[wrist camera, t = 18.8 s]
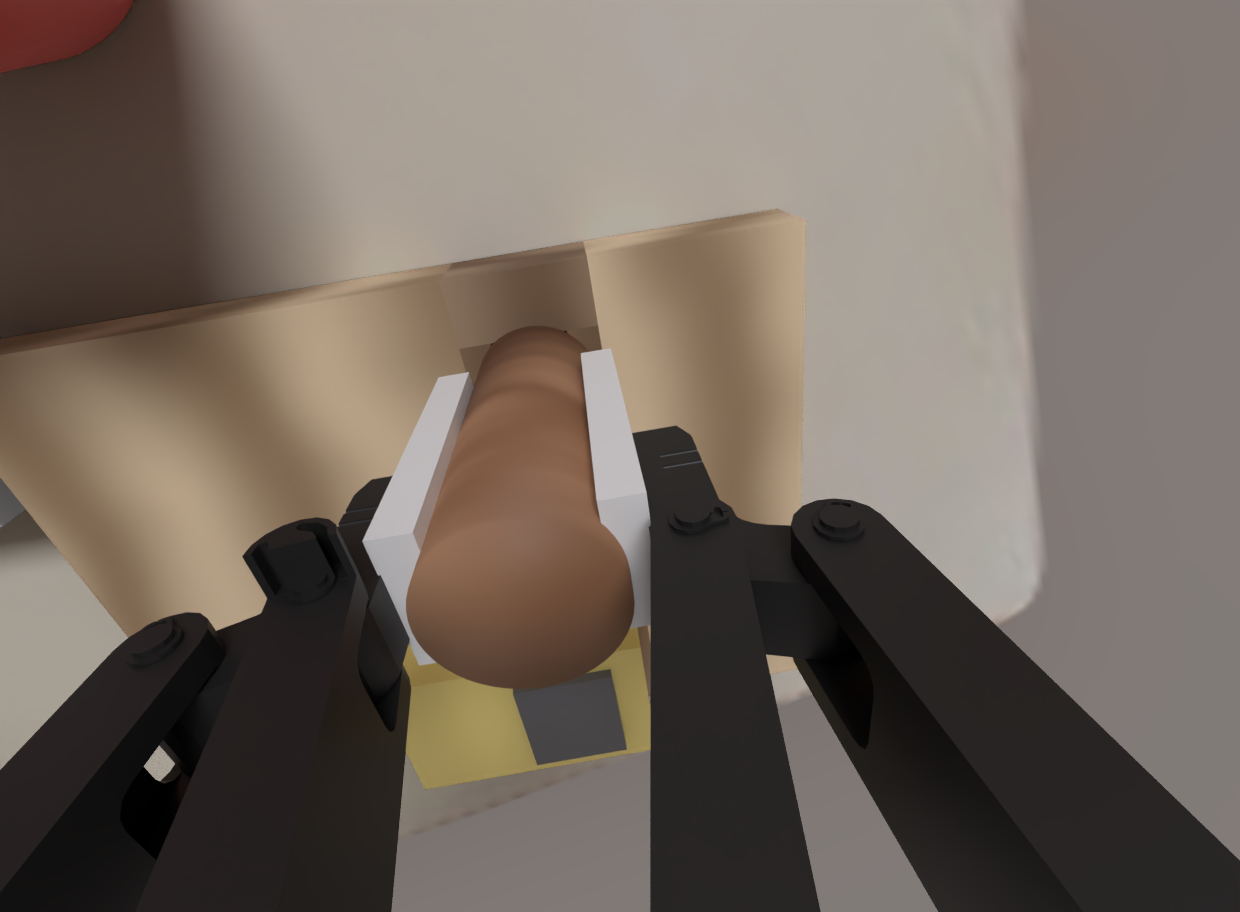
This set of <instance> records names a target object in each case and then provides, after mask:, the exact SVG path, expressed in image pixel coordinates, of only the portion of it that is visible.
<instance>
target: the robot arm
mask: <svg viewBox="0 0 1240 912" xmlns="http://www.w3.org/2000/svg"><path fill="white" fill-rule="evenodd" d="M581 362H582V371H583V380H584V389H585V399H586V408H587V417H588V426H589V435H590V445H591V454H592V463H593V472H594V482H595V491H596V500H597V506H598V511H599V516H600V521H601V523H602V524H603V525H604V526H605V527H607V529H608V530H609V531H610V532H611V533H612V534H613V535H614V536H615V537H616V539H617V540H618V542H619V543H620V545H621V546H622V548H623V550H624V552H625V555H626V557H627V560H628V564H629V567H630V573H631V580H632V586H633V592H634V602H635V605H634V615H633V620H632V624H631V626H630V629H631V628H636V627H642V626H648V625H651V901H650V902H651V906H650V907H651V909H650V910H651V911H650V912H820V907H819V903H818V898H817V893H816V888H815V884H814V879H813V874H812V870H811V865H810V860H809V855H808V850H807V846H806V841H805V836H804V832H803V827H802V822H801V817H800V813H799V808H798V803H797V799H796V794H795V789H794V784H793V780H792V775H791V770H790V766H789V761H788V756H787V752H786V747H785V742H784V737H783V733H782V728H781V723H780V719H779V714H778V709H777V704H776V700H775V695H774V690H773V685H772V681H771V676H770V671H769V667H768V662H767V657H766V655H775V656H785V657H793V661H794V663H795V665H796V666H797V668H798V670H799V672H800V673H801V675H802V677H803V679H804V680H805V682H806V684H807V685H808V687H809V689H810V691H811V692H812V694H813V696H814V698H815V699H816V701H817V703H818V704H819V706H820V708H821V710H822V711H823V713H824V715H825V716H826V718H827V720H828V722H829V723H830V725H831V727H832V729H833V730H834V732H835V734H836V735H837V737H838V739H839V741H840V742H841V744H842V746H843V748H844V749H845V751H846V753H847V755H848V756H849V758H850V760H851V762H852V763H853V765H854V767H855V768H856V770H857V772H858V774H859V775H860V777H861V779H862V780H863V782H864V784H865V786H866V787H867V789H868V791H869V793H870V794H871V796H872V798H873V799H874V801H875V803H876V805H877V806H878V808H879V810H880V811H881V813H882V815H883V817H884V818H885V820H886V822H887V824H888V825H889V827H890V829H891V830H892V832H893V834H894V836H895V838H896V839H897V841H898V843H899V844H900V846H901V848H902V850H903V851H904V853H905V855H906V857H907V858H908V860H909V862H910V863H911V865H912V867H913V868H914V870H915V872H916V873H917V876H918V877H919V879H920V881H921V882H922V884H923V886H924V888H925V889H926V891H927V893H928V895H929V896H930V898H931V900H932V901H933V903H934V905H935V907H936V908H937V910H938V912H1240V860H1239V859H1238V858H1236V857H1235V856H1234V855H1233V854H1232V853H1231V852H1230V851H1229V850H1228V849H1227V848H1226V847H1225V846H1224V845H1223V844H1222V843H1221V842H1220V841H1219V840H1218V839H1217V838H1216V837H1215V836H1214V835H1213V834H1212V833H1211V832H1210V831H1209V830H1207V829H1206V828H1205V827H1204V826H1203V825H1202V824H1201V823H1200V822H1199V821H1198V820H1197V819H1196V818H1195V817H1194V816H1193V815H1192V814H1191V813H1190V812H1189V811H1188V810H1187V809H1186V808H1185V807H1184V806H1183V805H1181V804H1180V802H1178V801H1177V800H1176V799H1175V798H1174V797H1173V796H1172V795H1171V794H1170V793H1169V792H1168V791H1167V790H1166V789H1165V788H1164V787H1163V786H1162V785H1161V784H1160V783H1159V782H1157V780H1156V779H1154V777H1153V776H1152V775H1151V774H1149V773H1148V772H1147V771H1146V770H1145V769H1144V768H1143V767H1142V766H1141V765H1140V764H1139V763H1138V762H1137V761H1136V760H1135V759H1134V758H1133V757H1132V756H1131V755H1130V754H1129V753H1128V752H1127V751H1126V750H1125V749H1123V747H1121V746H1120V745H1119V744H1118V743H1117V742H1116V741H1115V740H1114V739H1113V738H1112V737H1111V736H1110V735H1109V734H1108V733H1107V732H1106V731H1105V730H1104V729H1103V728H1102V727H1100V725H1099V724H1098V723H1097V722H1096V721H1095V720H1094V719H1093V718H1091V717H1090V716H1089V715H1088V714H1087V713H1086V712H1085V711H1084V710H1083V709H1082V708H1081V707H1080V706H1079V705H1078V704H1077V703H1076V702H1075V701H1074V700H1073V699H1072V698H1071V697H1070V696H1069V695H1067V694H1066V692H1065V691H1063V690H1062V689H1061V688H1060V687H1059V686H1058V685H1057V684H1056V683H1055V682H1054V681H1053V680H1052V679H1051V678H1050V677H1049V676H1048V675H1047V674H1046V673H1045V672H1044V671H1043V670H1042V669H1041V668H1040V667H1039V666H1038V665H1036V664H1035V663H1034V662H1033V661H1032V660H1031V659H1030V658H1029V657H1028V656H1027V655H1026V654H1025V653H1024V652H1023V651H1022V650H1021V649H1020V648H1019V647H1018V646H1017V645H1016V644H1015V643H1014V642H1013V641H1012V640H1011V639H1010V638H1009V637H1008V636H1006V635H1005V634H1004V633H1003V632H1002V631H1001V630H1000V629H999V628H998V627H997V626H996V625H995V624H994V623H993V622H992V621H991V620H990V619H989V618H988V617H987V616H986V615H985V614H984V613H983V612H982V611H981V610H980V609H979V608H978V607H977V606H975V605H974V604H973V603H972V602H971V601H970V600H969V599H968V598H967V597H966V596H965V595H964V594H963V593H962V592H961V591H960V590H959V589H958V588H957V587H956V586H955V585H954V584H953V583H952V582H951V581H950V580H949V579H948V578H946V577H945V576H944V575H943V574H942V573H941V572H940V571H939V570H938V569H937V568H936V567H935V566H934V565H933V564H932V563H931V562H930V561H929V560H928V559H927V558H926V557H925V556H924V555H923V554H922V553H921V552H920V551H919V550H918V549H916V548H915V547H914V546H913V545H912V544H911V543H910V542H909V541H908V540H907V539H906V538H905V537H904V536H903V535H902V534H901V533H900V532H899V531H898V530H897V529H896V528H895V527H894V526H893V525H892V524H891V523H890V522H889V521H887V520H886V519H885V518H884V517H883V516H882V515H881V514H880V513H878V512H877V511H875V510H874V509H872V508H871V507H869V506H867V505H864V504H861V503H858V502H855V501H852V500H843V499H826V500H817V501H814V502H812V503H809V504H806V505H804V506H802V507H801V508H800V509H799V510H798V511H797V512H796V513H795V514H794V515H793V518H792V522H791V526H790V525H767V524H758V523H753V522H749V521H745V520H742V519H740V518H738V517H737V516H736V514H735V513H734V511H733V509H732V507H730V506H729V505H727V504H726V503H724V502H723V501H721V500H719V498H718V495H717V493H716V491H715V488H714V486H713V484H712V482H711V479H710V477H709V475H708V472H707V470H706V468H705V466H704V463H703V462H702V459H701V456H700V454H699V452H698V451H697V447H696V445H695V443H694V440H693V438H692V436H691V435H690V434H689V433H687V432H686V431H684V430H683V429H681V428H679V427H678V426H670V427H664V428H659V429H653V430H647V431H641V432H635V433H632V432H631V428H630V424H629V420H628V416H627V411H626V407H625V403H624V399H623V395H622V391H621V387H620V383H619V379H618V375H617V371H616V367H615V363H614V359H613V355H612V351H611V348H609V349H603V350H597V351H591V352H585V353H581ZM473 388H474V387H473V384H472V381H471V377H470V374H469V372H467V373H461V374H455V375H449V376H443V377H439V378H438V380H437V382H436V384H435V386H434V388H433V390H432V393H431V395H430V397H429V399H428V401H427V403H426V405H425V408H424V410H423V412H422V414H421V416H420V418H419V420H418V423H417V425H416V427H415V429H414V431H413V433H412V436H411V438H410V440H409V442H408V444H407V446H406V448H405V451H404V453H403V455H402V457H401V459H400V461H399V463H398V466H397V468H396V470H395V472H394V474H393V476H389V477H383V478H377V479H372V480H370V481H369V482H368V483H367V484H366V485H365V486H364V487H362V488H361V489H360V490H359V491H358V492H357V493H356V494H355V495H354V496H353V498H352V500H351V502H350V503H349V505H348V507H347V509H346V514H343V516H342V518H341V520H340V522H339V527H337V526H336V524H335V523H333V522H332V521H331V520H330V519H325V518H318V517H315V518H308V519H301V520H298V521H295V522H292V523H289V524H286V525H283V526H281V527H279V528H277V529H275V530H273V531H271V532H269V533H267V534H265V535H264V536H263V537H261V538H260V539H259V540H257V541H256V542H255V543H253V544H252V545H251V546H250V547H249V548H248V550H247V551H246V552H245V553H244V555H243V556H242V557H243V559H244V561H245V562H246V564H247V566H248V567H249V569H250V571H251V572H252V574H253V576H254V577H255V579H256V581H257V582H258V584H259V586H260V587H261V589H262V591H263V592H264V594H265V596H266V597H267V600H266V603H265V605H264V608H263V610H262V612H261V614H259V615H256V616H254V617H251V618H249V619H246V620H243V621H241V622H238V623H235V624H233V625H230V626H228V627H225V628H222V629H220V630H217V631H216V630H215V628H214V627H213V626H212V624H211V623H210V621H209V620H208V618H206V617H205V616H204V615H202V614H201V613H193V612H185V613H181V614H176V615H172V616H168V617H165V618H162V619H159V620H158V621H157V622H156V621H155V622H152V623H150V624H148V625H146V626H145V627H144V628H142V629H141V630H140V631H138V632H137V633H135V634H133V635H132V636H130V637H129V638H128V639H126V640H125V641H124V642H123V643H122V644H121V645H120V646H118V647H117V648H116V649H115V650H114V651H113V652H112V653H111V654H110V655H109V656H108V657H107V658H106V659H105V660H104V661H103V662H102V663H101V664H100V665H99V667H98V668H97V669H96V670H95V671H94V672H93V673H92V674H91V675H90V676H89V677H88V678H87V679H86V680H85V681H84V682H83V683H82V684H81V686H80V687H79V688H78V689H77V690H76V691H75V692H74V693H73V694H72V695H71V696H70V697H69V698H68V699H67V700H66V701H65V702H64V703H63V704H62V706H61V707H60V708H59V709H58V710H57V711H56V712H55V713H54V714H53V715H52V716H51V717H50V718H49V719H48V720H47V721H46V722H45V723H44V725H43V726H42V727H41V728H40V729H39V730H38V731H37V732H36V733H35V734H34V735H33V736H32V737H31V738H30V739H29V740H28V741H27V742H26V744H25V745H24V746H23V747H22V748H21V749H20V750H19V751H18V752H17V753H16V754H15V755H14V756H13V757H12V758H11V759H10V760H9V761H8V763H7V764H6V765H5V766H4V767H3V768H2V769H1V770H0V912H391V908H392V897H393V886H394V875H395V864H396V852H397V842H398V831H399V819H400V808H401V797H402V786H403V775H404V764H405V753H406V741H407V730H408V719H409V708H410V697H411V684H410V678H409V676H408V674H407V672H406V670H405V668H404V666H403V662H404V658H405V655H406V651H407V648H408V644H409V645H410V647H411V649H412V651H413V653H414V655H415V658H416V660H417V662H418V664H419V666H420V665H426V664H432V663H437V662H435V661H434V660H433V659H432V658H431V657H430V656H429V655H428V654H427V653H426V652H425V651H424V650H423V649H422V647H421V646H420V645H419V644H418V642H417V640H416V639H415V637H414V635H413V633H412V631H411V629H410V626H409V623H408V619H407V614H406V597H407V591H408V587H409V584H410V581H411V578H412V575H413V572H414V568H415V565H416V562H417V560H418V557H419V554H420V552H421V549H422V545H423V542H424V539H425V536H426V533H427V530H428V527H429V524H430V521H431V518H432V514H433V511H434V508H435V505H436V502H437V499H438V496H439V493H440V490H441V487H442V484H443V480H444V477H445V474H446V471H447V468H448V465H449V462H450V459H451V456H452V453H453V450H454V446H455V443H456V440H457V437H458V434H459V431H460V428H461V425H462V422H463V419H464V416H465V412H466V409H467V406H468V403H469V400H470V397H471V394H472V391H473ZM158 746H160V747H161V748H162V749H163V750H164V751H165V752H166V754H167V755H168V756H169V757H170V758H171V759H172V760H173V762H174V763H175V765H174V767H173V768H172V769H171V771H170V772H169V773H168V774H167V775H166V776H165V777H164V778H163V779H162V780H161V781H157V780H155V779H154V778H153V777H152V775H151V774H150V773H149V772H148V771H147V770H146V769H145V768H144V767H143V766H144V765H145V764H146V762H147V761H148V760H149V758H150V757H151V755H152V754H153V753H154V751H155V750H156V749H157V747H158Z"/></svg>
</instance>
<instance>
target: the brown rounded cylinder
mask: <svg viewBox="0 0 1240 912" xmlns="http://www.w3.org/2000/svg"><path fill="white" fill-rule="evenodd" d="M585 352H589V351H588V350H587V349H586V348H585V346H584V345H583V344H582V343H581V342H579V341H578V340H577V339H576V338H574V337H573V336H571V335H569V334H568V333H566V332H564V331H561V330H559V329H555V328H552V327H546V326H528V327H523V328H519V329H516V330H513V331H511V332H509V333H507V334H505V335H503V336H502V337H501V338H499V339H498V340H497V341H496V342H495V343H494V344H493V345H492V346H491V347H490V348H489V350H488V351H487V352H486V354H485V356H484V358H483V360H482V363H481V365H480V369H479V372H478V375H477V378H476V381H475V384H474V388H473V391H472V394H471V397H470V400H469V403H468V406H467V409H466V412H465V416H464V419H463V422H462V425H461V428H460V431H459V434H458V437H457V440H456V443H455V446H454V450H453V453H452V456H451V459H450V462H449V465H448V468H447V471H446V474H445V477H444V480H443V484H442V487H441V490H440V493H439V496H438V499H437V502H436V505H435V508H434V511H433V514H432V518H431V521H430V524H429V527H428V530H427V533H426V536H425V539H424V542H423V545H422V549H421V552H420V554H419V557H418V560H417V562H416V565H415V568H414V572H413V575H412V578H411V581H410V584H409V587H408V591H407V597H406V614H407V619H408V623H409V626H410V629H411V631H412V633H413V635H414V637H415V639H416V640H417V642H418V644H419V645H420V646H421V647H422V649H423V650H424V651H425V652H426V653H427V654H428V655H429V656H430V657H431V658H432V659H433V660H434V661H435V662H437V663H438V664H439V665H441V666H442V667H443V668H445V669H447V670H449V671H450V672H452V673H454V674H456V675H458V676H460V677H462V678H465V679H467V680H470V681H473V682H476V683H479V684H483V685H488V686H492V687H499V688H508V689H530V688H540V687H547V686H551V685H556V684H560V683H563V682H566V681H569V680H572V679H575V678H577V677H579V676H581V675H584V674H586V673H587V672H589V671H591V670H593V669H594V668H596V667H597V666H599V665H600V664H601V663H603V662H604V661H605V660H607V659H608V658H609V657H610V656H611V655H612V654H613V653H614V652H615V651H616V649H617V648H618V647H619V646H620V645H621V643H622V642H623V640H624V638H625V637H626V635H627V633H628V631H629V629H630V626H631V624H632V620H633V615H634V605H635V602H634V592H633V586H632V580H631V573H630V567H629V564H628V560H627V557H626V555H625V552H624V550H623V548H622V546H621V545H620V543H619V542H618V540H617V539H616V537H615V536H614V535H613V534H612V533H611V532H610V531H609V530H608V529H607V527H605V526H604V525H603V524H602V523H601V521H600V516H599V511H598V506H597V500H596V491H595V482H594V472H593V463H592V454H591V445H590V435H589V426H588V417H587V408H586V399H585V389H584V380H583V371H582V362H581V353H585Z"/></svg>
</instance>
